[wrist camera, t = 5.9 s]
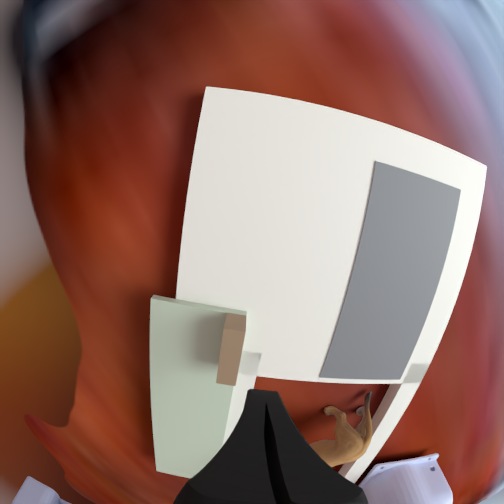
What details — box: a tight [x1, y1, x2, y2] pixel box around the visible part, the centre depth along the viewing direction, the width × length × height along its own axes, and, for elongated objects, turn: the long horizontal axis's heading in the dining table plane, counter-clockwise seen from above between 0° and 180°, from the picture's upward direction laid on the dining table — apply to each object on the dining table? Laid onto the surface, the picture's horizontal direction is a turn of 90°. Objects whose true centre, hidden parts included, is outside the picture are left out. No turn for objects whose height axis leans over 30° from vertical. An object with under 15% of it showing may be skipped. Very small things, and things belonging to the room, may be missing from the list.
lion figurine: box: [309, 391, 372, 467], centre depth 20 cm, size 12×4×7 cm, turn 137°
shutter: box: [150, 295, 247, 478], centre depth 19 cm, size 6×20×3 cm, turn 170°
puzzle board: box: [176, 87, 487, 483], centre depth 21 cm, size 20×36×2 cm, turn 170°
